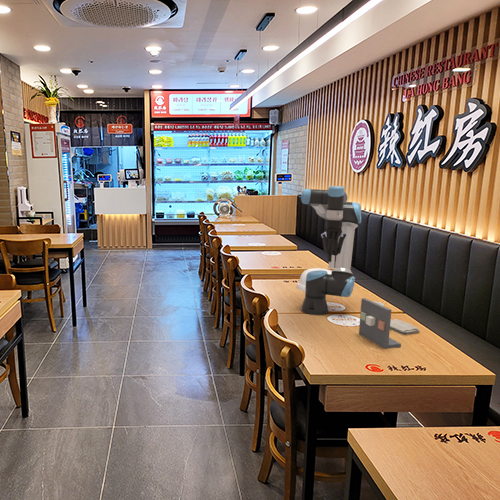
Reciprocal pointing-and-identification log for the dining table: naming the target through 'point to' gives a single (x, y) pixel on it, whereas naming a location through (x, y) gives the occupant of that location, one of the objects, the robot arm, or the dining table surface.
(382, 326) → the terracotta button
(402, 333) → the washcloth
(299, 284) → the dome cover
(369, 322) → the ivory button
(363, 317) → the sage button
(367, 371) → the dining table surface
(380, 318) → the button panel
